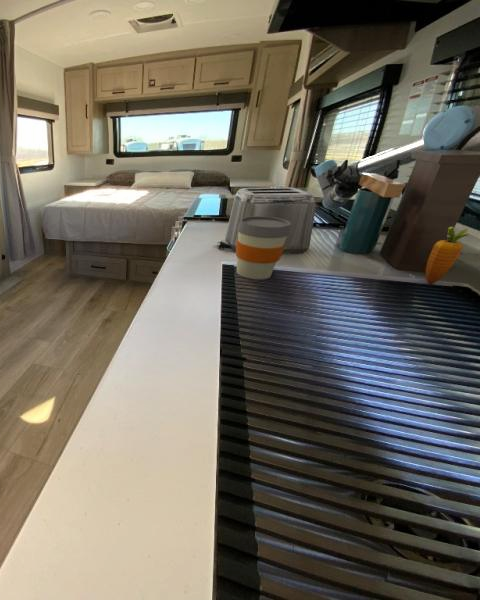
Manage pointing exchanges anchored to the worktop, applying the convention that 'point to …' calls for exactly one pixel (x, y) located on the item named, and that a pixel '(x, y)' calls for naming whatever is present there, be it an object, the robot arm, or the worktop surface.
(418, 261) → the walnut stand
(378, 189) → the oak bar
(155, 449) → the worktop surface
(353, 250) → the tall cup
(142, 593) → the worktop surface
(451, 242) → the carrot
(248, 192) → the toaster
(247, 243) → the reusable coffee cup
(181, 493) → the worktop surface
